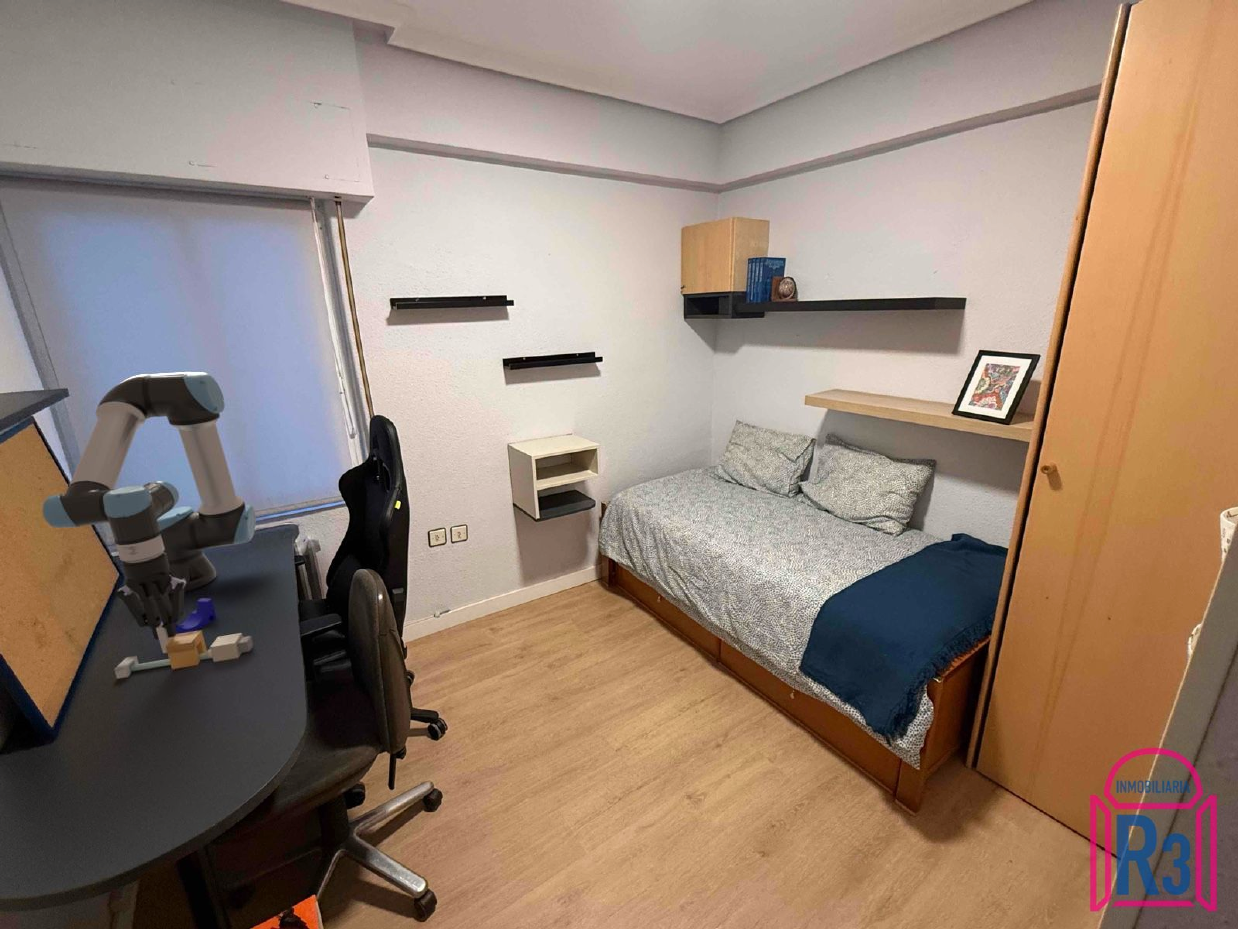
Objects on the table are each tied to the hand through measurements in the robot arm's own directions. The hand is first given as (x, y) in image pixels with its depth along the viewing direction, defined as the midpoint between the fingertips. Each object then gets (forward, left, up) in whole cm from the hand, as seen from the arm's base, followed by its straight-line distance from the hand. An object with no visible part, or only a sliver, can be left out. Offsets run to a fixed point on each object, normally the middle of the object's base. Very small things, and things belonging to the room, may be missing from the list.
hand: (169, 649), depth 123 cm
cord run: (0, +3, -4) cm, 5 cm away
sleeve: (0, +3, -4) cm, 5 cm away
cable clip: (-16, -3, -4) cm, 17 cm away
